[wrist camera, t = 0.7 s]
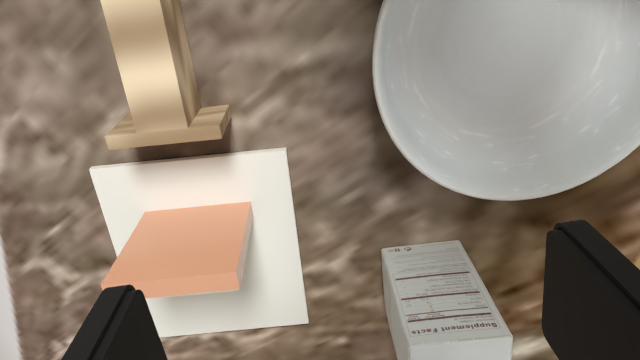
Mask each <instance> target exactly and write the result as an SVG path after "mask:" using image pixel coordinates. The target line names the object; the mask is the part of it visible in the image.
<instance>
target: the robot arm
mask: <svg viewBox="0 0 640 360" xmlns="http://www.w3.org/2000/svg"><path fill="white" fill-rule="evenodd" d="M542 329H543V333H544V336H545V338H546V340H547V342H548V343H549V345H550V346H551V348H552V349H553V351H554V353H555V354H556V356H557V357H558V359H559V360H640V270H639V269H638V268H637V267H636V266H635V265H634V264H633V263H632V262H630V261H629V260H628V259H627V258H626V257H625V256H624V255H623V254H622V253H621V252H620V251H618V250H617V249H616V248H615V247H614V246H613V245H612V244H611V243H610V242H609V241H608V240H606V239H605V238H604V237H603V236H602V235H601V234H600V233H599V232H598V231H597V230H595V229H594V228H593V227H592V226H591V225H590V224H589V223H588V222H586V221H585V220H577V221H570V222H563V223H557V224H556V225H555V227H554V230H552V231H549V232H548V233H547V239H546V257H545V275H544V293H543V311H542ZM62 360H167V357H166V354H165V351H164V349H163V346H162V343H161V340H160V338H159V335H158V332H157V329H156V327H155V324H154V321H153V318H152V316H151V313H150V310H149V307H148V305H147V302H146V299H145V296H144V294H143V292H142V291H141V290H139V289H138V290H135V288H134V287H133V285H130V284H129V285H122V286H115V287H108V288H105V289H104V290H103V291H102V293H101V294H100V296H99V298H98V299H97V301H96V303H95V304H94V306H93V308H92V309H91V311H90V313H89V314H88V316H87V318H86V319H85V321H84V323H83V324H82V326H81V328H80V329H79V331H78V333H77V334H76V336H75V338H74V339H73V341H72V343H71V344H70V346H69V348H68V349H67V351H66V353H65V354H64V356H63V358H62Z"/></svg>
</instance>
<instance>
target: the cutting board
mask: <svg viewBox="0 0 640 360" xmlns="http://www.w3.org/2000/svg"><path fill="white" fill-rule="evenodd" d="M89 171H90V174H91V177H92V180H93V183H94V187H95V190H96V193H97V196H98V199H99V202H100V205H101V208H102V211H103V214H104V218H105V221H106V224H107V227H108V230H109V233H110V236H111V239H112V242H113V245H114V249H115V252H116V255H117V257H118V256H119V254H120V252H121V251H122V249H123V247H124V246H125V244H126V242H127V241H128V239H129V237H130V236H131V234H132V232H133V231H134V229H135V227H136V226H137V224H138V222H139V221H140V219H141V217H142V216H143V214H144V212H147V211H157V210H168V209H178V208H188V207H199V206H209V205H219V204H229V203H240V202H250V201H251V206H252V211H253V220H252V225H251V231H250V236H249V242H248V247H247V253H246V258H245V263H244V269H243V274H242V280H241V285H240V289H238V290H237V291H227V292H216V293H206V294H195V295H185V296H174V297H164V298H153V299H146V302H147V305H148V307H149V310H150V313H151V316H152V318H153V321H154V324H155V327H156V329H157V332H158V335H159V338H160V337H170V336H181V335H191V334H202V333H213V332H223V331H234V330H244V329H255V328H265V327H276V326H286V325H297V324H308V323H309V319H308V311H307V303H306V296H305V288H304V280H303V273H302V265H301V257H300V250H299V242H298V235H297V227H296V219H295V212H294V204H293V196H292V189H291V181H290V174H289V166H288V158H287V151H286V147H285V148H275V149H265V150H255V151H245V152H234V153H224V154H214V155H204V156H194V157H184V158H173V159H163V160H153V161H143V162H133V163H123V164H112V165H102V166H92V167H91V168H90V169H89Z"/></svg>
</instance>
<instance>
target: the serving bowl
mask: <svg viewBox="0 0 640 360" xmlns="http://www.w3.org/2000/svg"><path fill="white" fill-rule="evenodd" d="M372 75H373V86H374V92H375V98H376V102H377V106H378V109H379V112H380V115H381V118H382V121H383V123H384V126H385V128H386V130H387V132H388V134H389V135H390V137H391V139H392V141H393V142H394V144H395V145H396V147H397V148H398V149H399V151H400V152H401V153H402V154H403V156H404V157H405V158H406V159H407V160H408V161H409V162H410V163H411V164H412V165H413V166H414V167H415V168H416V169H417V170H418V171H420V172H421V173H422V174H424V175H425V176H426V177H428V178H429V179H431V180H432V181H434V182H436V183H438V184H439V185H441V186H443V187H445V188H447V189H450V190H452V191H455V192H457V193H460V194H464V195H467V196H471V197H475V198H480V199H487V200H499V201H516V200H527V199H535V198H540V197H545V196H549V195H553V194H556V193H560V192H562V191H565V190H568V189H571V188H573V187H576V186H578V185H581V184H583V183H585V182H587V181H589V180H591V179H593V178H594V177H596V176H598V175H600V174H602V173H603V172H605V171H606V170H608V169H609V168H611V167H613V166H614V165H616V164H617V163H618V162H620V161H621V160H622V159H624V158H625V157H626V156H628V155H629V154H630V153H631V152H632V151H633V150H635V149H636V148H637V147H638V146H639V145H640V0H383V3H382V6H381V9H380V12H379V16H378V20H377V24H376V29H375V35H374V42H373V54H372Z"/></svg>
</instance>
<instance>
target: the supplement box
mask: <svg viewBox="0 0 640 360" xmlns="http://www.w3.org/2000/svg"><path fill="white" fill-rule="evenodd" d="M381 259H382V276H383V289H384V302H385V311H386V314H387V318H388V323H389V327H390V331H391V335H392V339H393V343H394V348H395V352H396V356H397V360H511V357H512V342H513V336H512V334H511V333H510V331H509V329H508V327H507V326H506V324H505V322H504V320H503V318H502V316H501V314H500V313H499V311H498V309H497V307H496V306H495V304H494V302H493V300H492V298H491V296H490V294H489V293H488V291H487V289H486V287H485V285H484V283H483V282H482V280H481V278H480V276H479V275H478V273H477V271H476V269H475V267H474V265H473V264H472V262H471V260H470V258H469V256H468V255H467V253H466V251H465V249H464V248H463V246H462V244H461V242H460V241H459V240H453V241H443V242H434V243H424V244H416V245H406V246H397V247H389V248H383V249H381Z"/></svg>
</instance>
